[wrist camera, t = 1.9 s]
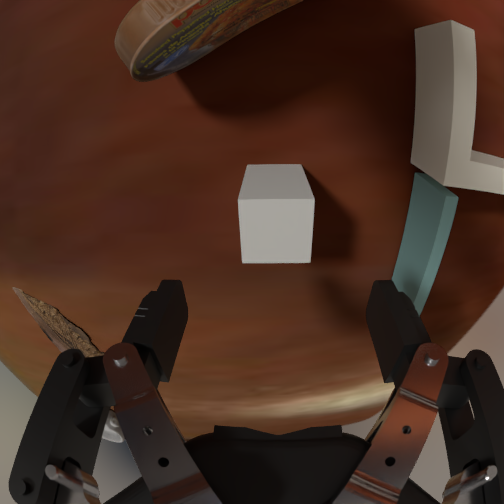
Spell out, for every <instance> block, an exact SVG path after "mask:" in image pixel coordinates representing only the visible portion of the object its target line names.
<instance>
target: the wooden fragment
mask: <svg viewBox="0 0 504 504" xmlns="http://www.w3.org/2000/svg"><path fill="white" fill-rule="evenodd" d="M12 288H13V290H14V291H15V293H16V294H17V296H18V297H19V299H20V300H21V302H22V303H23V305H24V306H25V307H26V309H27V310H28V312H29V313H30V314H31V315H32V317H33V318H34V319H35V321H36V322H37V323H38V325H39V326H40V328H41V329H42V330H43V332H44V333H45V334H46V335H47V337H48V338H49V339H50V340H51V341H52V342H53V343H54V345H56V347H57V348H58V349H59V350H60V351H61V352H63V351H65V350H68V349H73V348H74V349H78V350H80V351H81V352H82V353H83V354H84V356H85V357H94V356H102V355H104V354H105V353H103V352H100V351H99V350H98V349H97V348H96V347H95V346H94V345H92V343H91V342H90V339H89V338H88V337H87V335H86V334H85V333H84V332H83V331H82V330H81V329H80V328H77V327H76V326H75V325H73V324H72V323H70V322H68V321H67V320H66V319H65V318H64V317H63V316H62V315H61V314H60V313H59V311H58V310H57V309H56V308H55V307H53V306H51V305H48V304H46V303H45V302H43V301H41V300H40V301H39V300H38V299H36V298H32V297H30V296H29V295H27V294H24V293H23V291H22V290H20V289H18V288H15V287H12Z"/></svg>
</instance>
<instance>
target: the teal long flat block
mask: <svg viewBox="0 0 504 504" xmlns="http://www.w3.org/2000/svg"><path fill="white" fill-rule="evenodd" d="M458 198H459V197H458V196H456V195H455V194H454V193H452V192H451V191H450V190H448V189H447V188H446V187H444V186H443V185H442V184H440V183H439V182H438V181H436V180H435V179H433V178H432V177H431V176H429V175H428V174H425V173H416V172H415V175H414V182H413V188H412V194H411V199H410V205H409V210H408V215H407V220H406V225H405V229H404V234H403V238H402V242H401V246H400V250H399V254H398V258H397V262H396V266H395V269H394V273H393V277H392V281H393V282H394V284H395V286H396V288H397V290H398V292H404V293H405V294H406V295H407V296H408V297H409V298H410V299H411V300H412V302H413V304H414V306H415V310H417V312H418V314H419V316H420V314H421V312H422V309H423V307H424V305H425V302H426V300H427V297H428V295H429V292H430V290H431V287H432V285H433V282H434V279H435V276H436V274H437V271H438V268H439V265H440V262H441V259H442V256H443V253H444V250H445V247H446V244H447V240H448V237H449V233H450V230H451V226H452V223H453V219H454V215H455V211H456V207H457V203H458Z"/></svg>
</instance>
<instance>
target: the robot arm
mask: <svg viewBox="0 0 504 504" xmlns="http://www.w3.org/2000/svg"><path fill="white" fill-rule="evenodd" d="M138 308H139V309H137V311H136V313H135V317H133V319H132V321H131V323H130V325H129V328H128V330H127V332H126V334H125V336H124V338H123V340H122V342H121V343H118V344H115V345H113V346H111V347H110V348H109V349H108V350H107V351H106V352H105V354H104V355H102V356H94V357H85V356H84V354H83V353H82V352H81V351H80V350H78V349H74V348H73V349H68V350H65V351H63V352H62V353H61V354H60V355H59V356H58V357H57V359H56V361H55V363H54V365H53V367H52V369H51V371H50V373H49V375H48V377H47V379H46V381H45V384H44V386H43V388H42V390H41V393H40V395H39V397H38V399H37V402H36V404H35V406H34V409H33V412H32V414H31V416H30V419H29V421H28V424H27V426H26V429H25V432H24V435H23V438H22V440H21V443H20V446H19V449H18V452H17V455H16V458H15V462H14V465H13V468H12V471H11V475H10V479H9V491H10V494H11V496H12V498H13V499H14V500H15V502H17V503H18V504H101V503H100V500H99V495H100V493H99V489H98V484H97V482H96V480H95V479H94V478H93V477H92V474H93V469H94V466H95V461H96V457H97V453H98V449H99V446H100V442H101V438H102V435H103V431H104V428H105V424H106V421H107V417H108V414H109V411H110V407H111V406H114V411H115V414H116V417H117V419H118V422H119V425H120V427H121V430H122V432H123V435H124V437H125V440H126V442H127V445H128V447H129V449H130V451H131V454H132V456H133V458H134V460H135V463H136V465H137V467H138V469H139V471H140V473H141V475H142V477H140V478H139V479H138V480H136V481H135V482H134V483H132V484H131V485H130V486H128V487H127V488H125V489H124V490H122V491H121V492H120V493H118V494H117V495H115V496H114V497H112V498H111V499H109V500H108V501H106V502H105V503H103V504H440V503H439V502H438V501H437V500H435V499H434V498H433V497H432V496H431V495H429V494H428V493H427V492H426V491H424V490H423V489H422V488H421V487H420V486H418V485H417V484H416V483H415V482H414V481H412V480H411V479H410V478H409V476H410V473H411V472H412V470H413V468H414V466H415V464H416V462H417V460H418V458H419V455H420V453H421V451H422V449H423V446H424V444H425V442H426V439H427V437H428V435H429V433H430V430H431V428H432V425H433V423H434V420H435V417H436V415H437V412H439V417H440V421H441V425H442V430H443V434H444V440H445V445H446V450H447V456H448V462H449V469H450V475H451V478H450V479H449V481H448V482H447V484H446V487H445V490H444V492H443V494H442V497H443V502H442V504H504V389H503V386H502V383H501V381H500V378H499V376H498V373H497V371H496V369H495V366H494V364H493V362H492V360H491V358H490V356H489V355H488V354H486V353H485V352H484V351H481V350H472V351H470V352H469V353H468V354H467V356H466V357H465V358H459V357H452V356H448V355H447V353H446V351H445V350H444V349H443V348H442V347H441V346H439V345H437V344H435V343H432V342H431V340H430V337H429V335H428V333H427V331H426V329H425V327H424V324H423V322H422V320H421V318H420V317H419V314H418V312H417V310H415V306H414V304H413V302H412V300H411V299H410V298H409V297H408V296H407V295H406V294H405V293H404V292H398V290H397V288H396V286H395V284H394V282H393V281H392V280H376V281H374V283H373V286H372V290H371V294H370V297H369V301H368V305H367V309H366V321H367V324H368V328H369V331H370V334H371V337H372V341H373V344H374V347H375V351H376V354H377V358H378V361H379V365H380V369H381V372H382V376H383V380H384V383H390V382H394V385H395V388H394V390H393V391H392V393H391V395H390V397H389V399H388V401H387V403H386V405H385V407H384V409H383V410H382V412H381V414H380V416H379V418H378V419H377V421H376V423H375V425H374V426H373V428H372V429H371V431H370V432H369V434H368V435H367V437H366V438H365V440H364V439H362V438H360V437H357V436H355V435H352V434H348V433H342V427H341V425H336V426H324V427H310V428H307V429H303V430H299V431H295V432H291V433H287V434H283V435H274V434H269V433H265V432H261V431H257V430H253V429H250V428H246V427H230V426H217V425H215V426H214V433H208V434H204V435H200V436H197V437H195V438H193V439H191V440H189V441H186V440H185V438H184V436H183V435H182V433H181V432H180V430H179V428H178V427H177V425H176V423H175V421H174V420H173V418H172V416H171V414H170V412H169V410H168V409H167V407H166V405H165V403H164V401H163V399H162V397H161V395H160V393H159V391H158V389H157V388H158V385H159V382H160V381H162V382H169V380H170V376H171V373H172V369H173V366H174V363H175V359H176V356H177V353H178V349H179V346H180V343H181V340H182V336H183V333H184V330H185V327H186V324H187V320H188V307H187V303H186V298H185V294H184V290H183V285H182V282H181V281H180V280H162V281H161V283H160V285H159V287H158V289H157V291H151V292H150V293H149V294H148V295H146V296H145V297H144V298H143V300H142V302H141V304H140V306H139V307H138ZM469 399H470V402H471V406H472V409H473V413H474V418H473V414H472V411H471V407H470V404H469Z"/></svg>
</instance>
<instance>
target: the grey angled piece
mask: <svg viewBox="0 0 504 504" xmlns="http://www.w3.org/2000/svg"><path fill="white" fill-rule="evenodd" d="M414 32H415V49H416V101H415V120H414V133H413V144H412V153H411V162H410V163H412V164H413V165H415V166H416V167H418V168H419V169H421V170H422V171H424V172H425V173H426V174H428V175H429V176H431V177H432V178H433V179H435V180H436V181H438V182H439V183H440V184H442V185H443V186H450V187H458V188H465V189H472V190H479V191H485V192H492V193H497V194H503V195H504V159H503V158H500V157H496V156H493V155H489V154H485V153H481V152H477V151H473V150H472V142H473V134H474V124H475V111H476V87H477V70H476V46H475V34H474V30H473V29H470V28H468V27H466V26H464V25H462V24H459V23H457V22H455V21H452V20H449V21H444V22H440V23H436V24H432V25H428V26H424V27H420V28H417V29H414Z"/></svg>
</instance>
